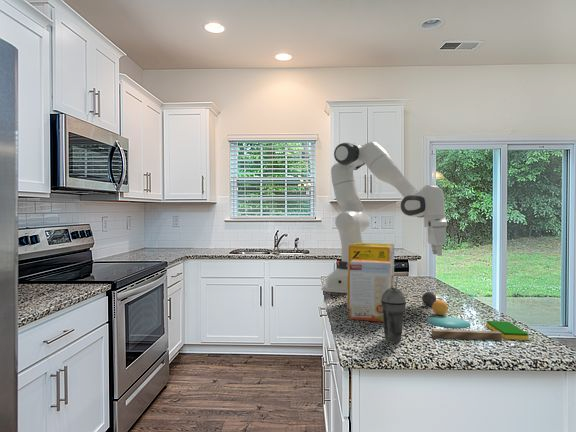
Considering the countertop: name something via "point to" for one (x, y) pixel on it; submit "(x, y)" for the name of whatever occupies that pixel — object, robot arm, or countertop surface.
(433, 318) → the teal mark
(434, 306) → the orange ball
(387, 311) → the beverage cup
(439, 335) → the brown wooden bar
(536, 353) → the countertop surface
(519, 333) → the dish sponge
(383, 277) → the cracker box
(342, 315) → the countertop surface
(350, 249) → the packaging box
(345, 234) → the robot arm
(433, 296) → the dark gray ball
